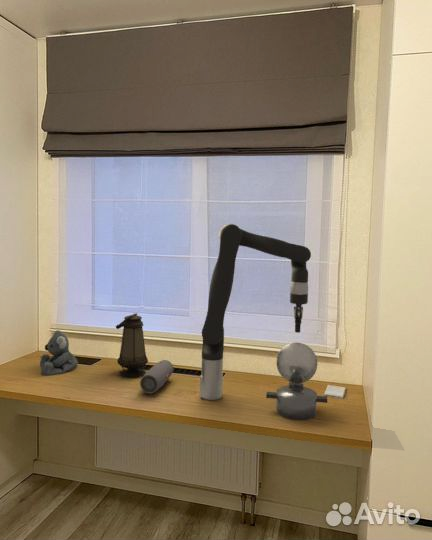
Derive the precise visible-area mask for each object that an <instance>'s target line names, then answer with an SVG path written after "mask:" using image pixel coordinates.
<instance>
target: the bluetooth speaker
mask: <svg viewBox="0 0 432 540" xmlns="http://www.w3.org/2000/svg"><path fill="white" fill-rule="evenodd" d="M173 372H174V366H173V364H172V362H171V361H170V360H167V359H162V360H160V361H158V362H157V363H156V364H154V365H153V366H152V367H151V368H149V369H148V370H147V371H146V374H145V375H144V376H142V377H141V379H140V382H139V386H140V388H141V390H142V391H143V392H144V393H146V394H154V393H155V392H157V391H159V390H160V389H161V388H162V386H163V385H164V384H165V383H166V382H167V381H168V380H169V379H170V377H171V376H172V374H173Z"/></svg>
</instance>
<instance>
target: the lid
mask: <svg viewBox="0 0 432 540" xmlns="http://www.w3.org/2000/svg"><path fill="white" fill-rule="evenodd" d="M276 369H277V371H278V373H279V375H280V376H281V377H282V378H283V379H284V380H285V381H288V385H296V386H303V387H304V383H306V382H308V381H309V380H311V379H312V378H313V377H314V375H315V374H316V373H317V369H318V358H317V356H316V354H315V351H314V350H313V349H312V348H311V347H310V346H309V345H308V344H306V343H302V342H299V341H298V342H291V343H288V344H286V345H284V346H283V347H282V348H281V349H280V350H279V352H278V354H277V357H276Z"/></svg>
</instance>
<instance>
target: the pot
mask: <svg viewBox="0 0 432 540" xmlns="http://www.w3.org/2000/svg"><path fill="white" fill-rule="evenodd" d="M265 395H266V397H265V398H266V399H273V400H275V401H276V402H275V412H276V414H278V415H279V416H280V417H283V418H285V419H289V420H293V421H294V420H295V421H307V420H311V419H314V418H315V417H316V416H317V403H325V404H327V403H328V397H327V396H324V395H318V393H317V391H315V390H314V389H312V388H310V387H307V386H304V385H303V386H296V385H289V384H288V385H283V386H279V387H278V388H277V389H276V392H273V391H266V394H265Z"/></svg>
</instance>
